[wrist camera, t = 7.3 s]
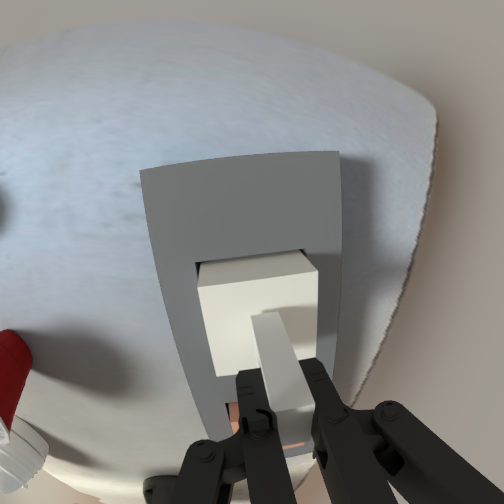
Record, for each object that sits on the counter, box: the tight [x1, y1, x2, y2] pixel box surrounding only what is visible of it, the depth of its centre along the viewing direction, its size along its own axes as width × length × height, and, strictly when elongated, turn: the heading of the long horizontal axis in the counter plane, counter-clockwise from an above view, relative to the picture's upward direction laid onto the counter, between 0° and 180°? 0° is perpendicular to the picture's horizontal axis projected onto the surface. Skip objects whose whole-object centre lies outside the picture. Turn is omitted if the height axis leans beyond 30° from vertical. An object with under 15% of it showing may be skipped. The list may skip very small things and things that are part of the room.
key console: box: [139, 151, 342, 458], centre depth 22 cm, size 32×12×5 cm, turn 5°
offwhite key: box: [197, 249, 318, 377], centre depth 17 cm, size 6×6×4 cm
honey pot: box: [0, 415, 49, 494], centre depth 19 cm, size 13×13×18 cm
